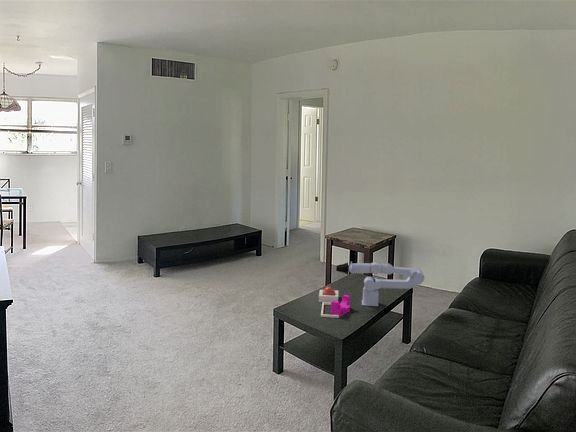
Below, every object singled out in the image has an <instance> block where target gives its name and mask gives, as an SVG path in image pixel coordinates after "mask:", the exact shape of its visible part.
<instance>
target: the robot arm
mask: <svg viewBox="0 0 576 432" xmlns="http://www.w3.org/2000/svg"><path fill="white" fill-rule="evenodd" d="M335 271H336V272H338V273H344V274H346V275H349V272H350V274H373V275H379V274H382V275H392V274H398V275H399V274H401V275H406V276H408V277H407V278H406V279H384V278H383V279H379V278H377V277H372V276H366V277H365V278H364V279H363V283H364V285H363V288H362V300H361V306H367V307H370V306H371V307H379V302H380V299H379V293H380V292H379V290H380V289H402V290H403V289H413V288H415V287H417V286H419V285H420V286H421V284H423V282H424V280H425V275H424V274H423V272H422V270H421V269H420V268H415V267H401V266H400V267H397V266H393V265H392V264H390V263H386V264H385V263H381V262H379V263H378V262H376V261H373V262H371V263H370V262H369V263H367V262H365V263H364V262H363V263H361V262H360V263H358V262H356V263H353V261H350V264H349V262H346V263H343V264H338V265H336V270H335Z"/></svg>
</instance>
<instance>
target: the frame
mask: <svg viewBox="0 0 576 432" xmlns="http://www.w3.org/2000/svg"><path fill="white" fill-rule="evenodd" d="M324 306H331V303H327V302H321V311H320V317H321V318H333V319H334V318H336V319H340V316H339V315H333V314H325V313H324V308H325V307H324Z"/></svg>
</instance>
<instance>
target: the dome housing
mask: <svg viewBox="0 0 576 432" xmlns="http://www.w3.org/2000/svg"><path fill="white" fill-rule="evenodd" d="M323 290H324V289H319V293H318V302H319V303H322V302H327V303H331V302H332V301H338V302H339V290H338V289H337V290H335V289H333V290H334V291H335V295H323Z"/></svg>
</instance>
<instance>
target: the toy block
mask: <svg viewBox="0 0 576 432" xmlns="http://www.w3.org/2000/svg"><path fill="white" fill-rule="evenodd" d="M350 308H351V295H348V294H344V295H342V299H341V301H339V300H338V301H332V302H331V305H330V315H339V318H340V317H342V316H344V315H346V314H348V313H349V312H350V311H351V309H350ZM347 312H348V313H347Z"/></svg>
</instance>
